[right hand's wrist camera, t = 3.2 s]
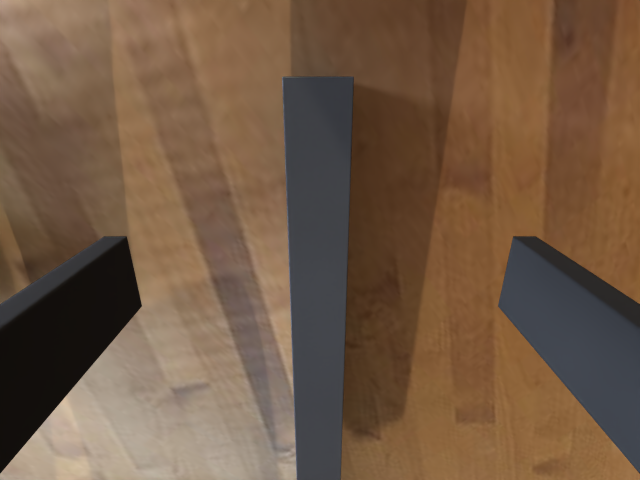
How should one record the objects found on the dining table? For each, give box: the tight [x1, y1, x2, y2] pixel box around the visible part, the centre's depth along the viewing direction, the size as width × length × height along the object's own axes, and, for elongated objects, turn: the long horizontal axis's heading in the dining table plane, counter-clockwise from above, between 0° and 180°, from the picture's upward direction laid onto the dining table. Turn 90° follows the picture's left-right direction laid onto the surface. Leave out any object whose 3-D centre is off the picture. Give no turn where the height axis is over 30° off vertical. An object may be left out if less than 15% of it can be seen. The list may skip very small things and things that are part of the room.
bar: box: [282, 77, 354, 480], centre depth 40 cm, size 69×5×8 cm, turn 0°
